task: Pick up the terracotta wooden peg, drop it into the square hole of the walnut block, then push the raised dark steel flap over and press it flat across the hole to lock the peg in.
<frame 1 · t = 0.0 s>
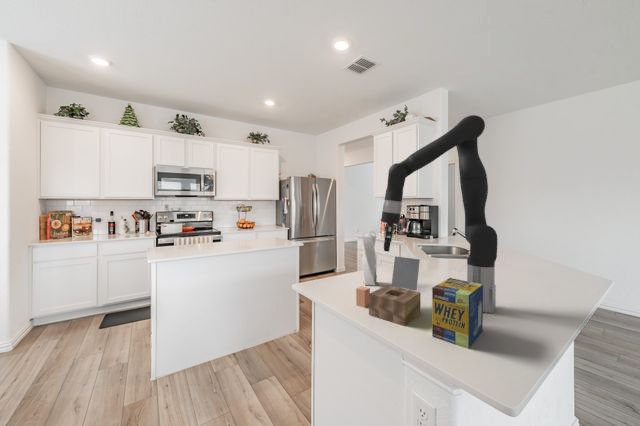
hand: (386, 249, 110), 22 cm above the counter, fingers open, 8 cm apart
hole block: (394, 314, 98), on the counter
protein box: (458, 334, 83), on the counter
skyscraper: (370, 284, 136), on the counter
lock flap: (405, 272, 105), point 14 cm above the counter, hinge at 106.0°
peg: (363, 305, 107), on the counter
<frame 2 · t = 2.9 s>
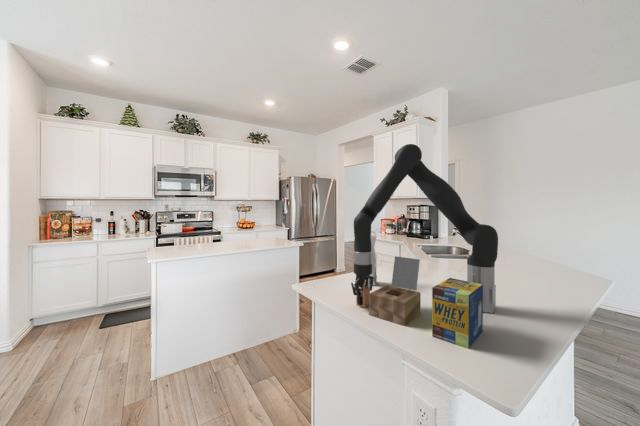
hand: (363, 303, 107), 1 cm above the counter, fingers closed on peg, 4 cm apart
peg: (363, 305, 107), on the counter, touching gripper
everything else where it was.
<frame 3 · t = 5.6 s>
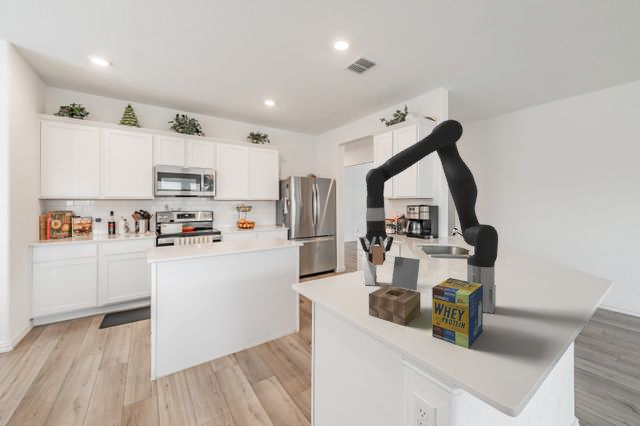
hand: (376, 261, 104), 18 cm above the counter, fingers closed on peg, 4 cm apart
peg: (376, 263, 104), point 18 cm above the counter, touching gripper
everything else where it was.
when the fingers open (10 cm above the counter, at t = 8.2 s): peg drops 9 cm, resting in hole block.
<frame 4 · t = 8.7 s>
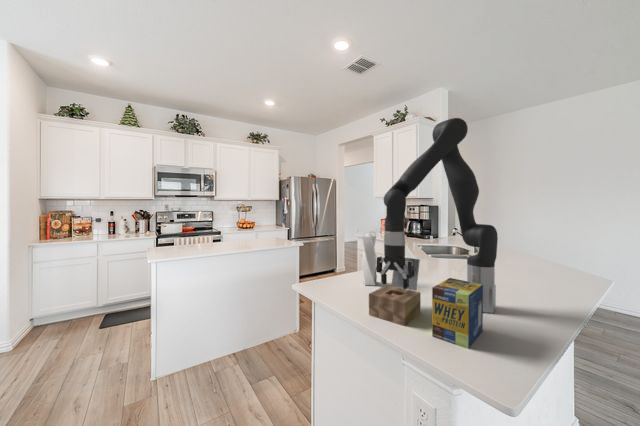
hand: (394, 286, 98), 11 cm above the counter, fingers open, 8 cm apart
peg: (395, 314, 98), resting in hole block
everything else where it was.
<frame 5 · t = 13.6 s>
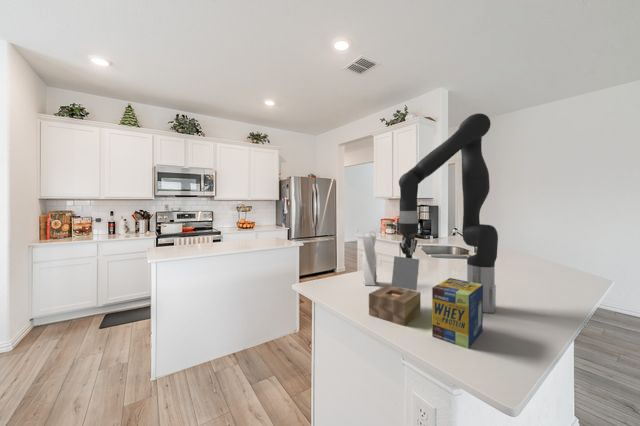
hand: (409, 263, 108), 17 cm above the counter, fingers closed
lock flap: (405, 272, 105), point 14 cm above the counter, hinge at 103.3°, touching gripper
everything else where it was.
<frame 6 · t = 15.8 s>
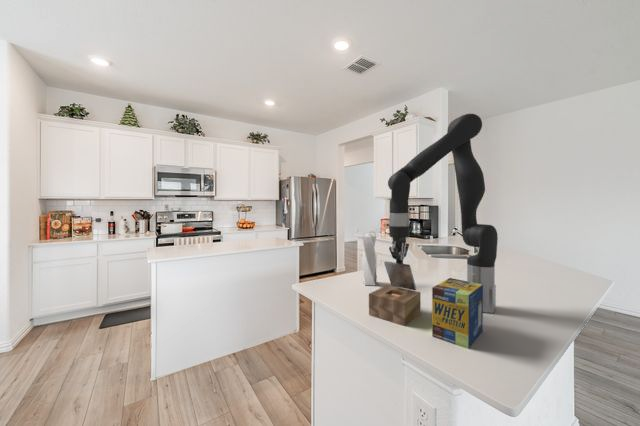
hand: (399, 269, 101), 16 cm above the counter, fingers closed
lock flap: (400, 275, 101), point 14 cm above the counter, hinge at 59.5°, touching gripper
everything else where it was.
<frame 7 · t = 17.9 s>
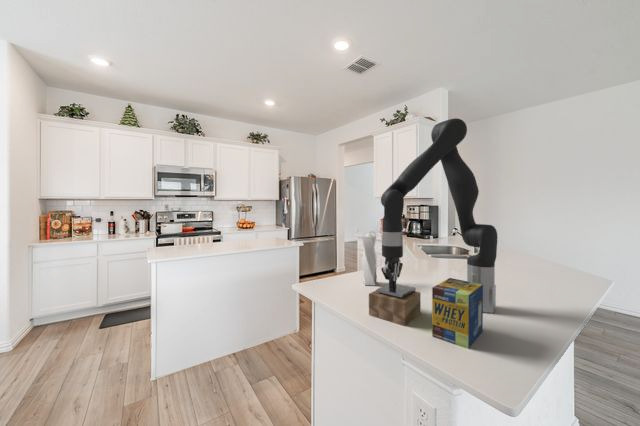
hand: (392, 290, 97), 9 cm above the counter, fingers closed
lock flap: (396, 289, 99), point 9 cm above the counter, hinge at 1.8°, touching gripper
everything else where it was.
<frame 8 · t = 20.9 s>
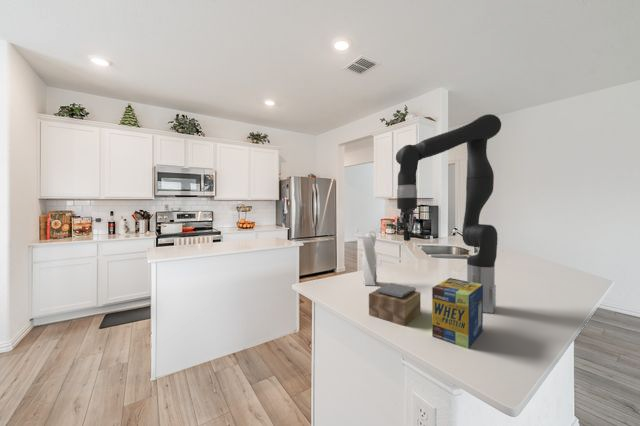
hand: (407, 240, 103), 27 cm above the counter, fingers closed
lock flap: (396, 289, 99), point 9 cm above the counter, hinge at 1.6°
everything else where it was.
at the end: peg 0.2 cm off-centre on the hole block, point 0.0 cm above the hole block's base; peg tilted 0°; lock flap at +2° (first picture: +106°) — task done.
